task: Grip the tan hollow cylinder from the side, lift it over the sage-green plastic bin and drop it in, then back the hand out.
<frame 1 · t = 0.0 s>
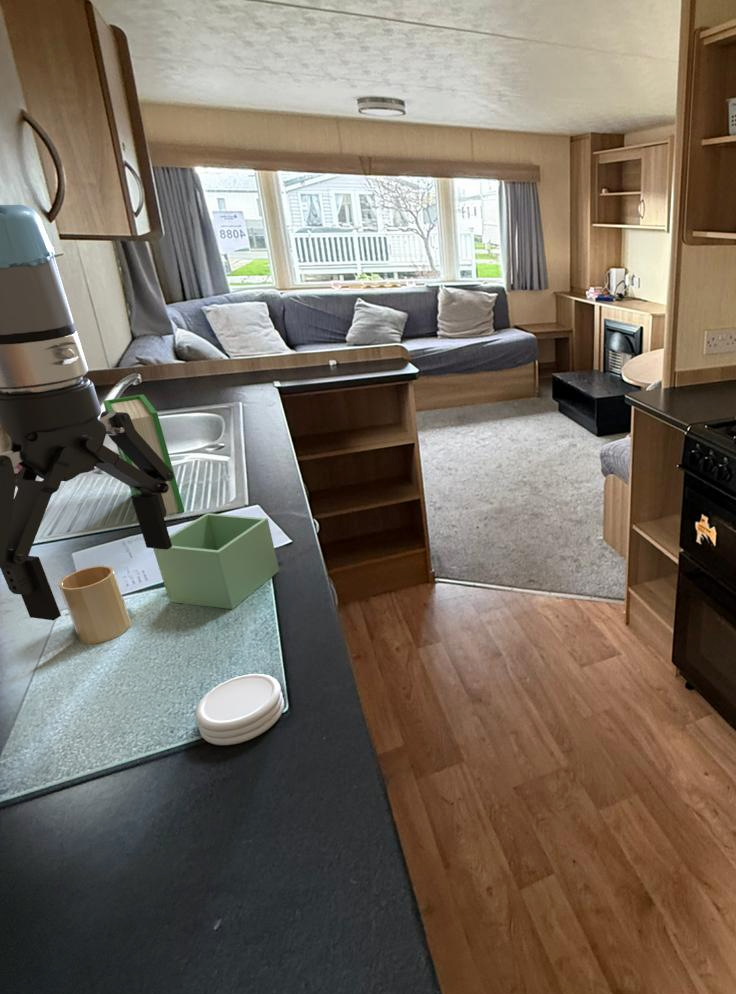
hand: (107, 579, 68), 27 cm above the counter, tool pointing down, fingers open, 13 cm apart
bin: (226, 585, 116), on the counter
hardback book: (159, 509, 145), on the counter
tan hollow cylinder: (105, 630, 104), on the counter
coaster: (244, 719, 86), on the counter
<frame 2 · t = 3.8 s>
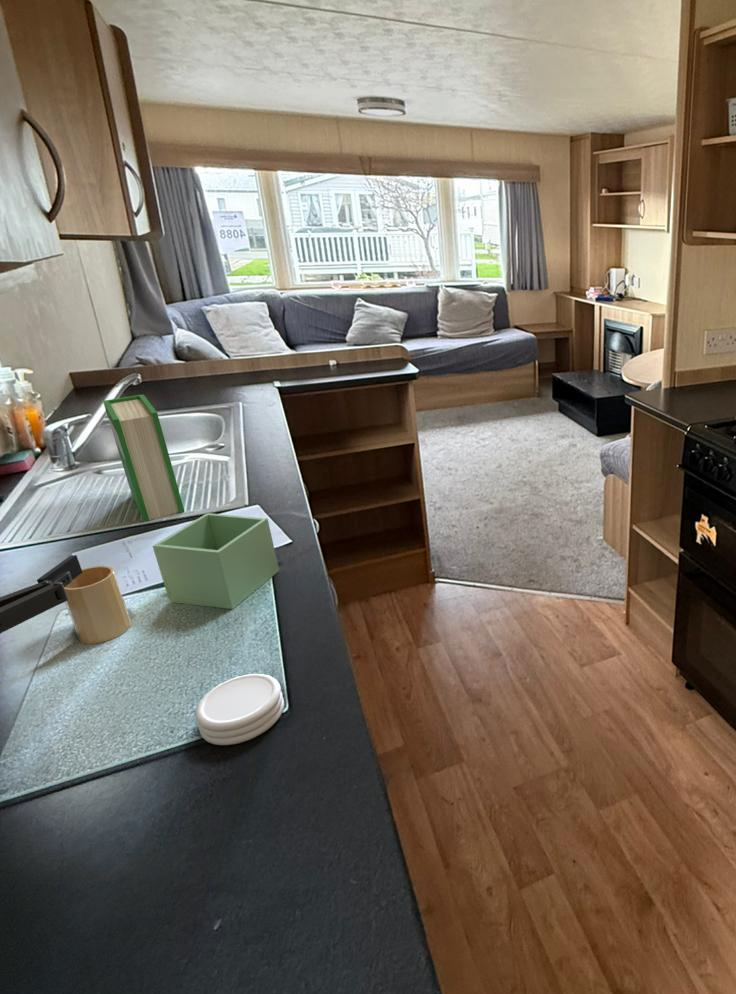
hand: (24, 567, 88), 18 cm above the counter, tool horizontal, fingers open, 13 cm apart
nothing on the counter moved.
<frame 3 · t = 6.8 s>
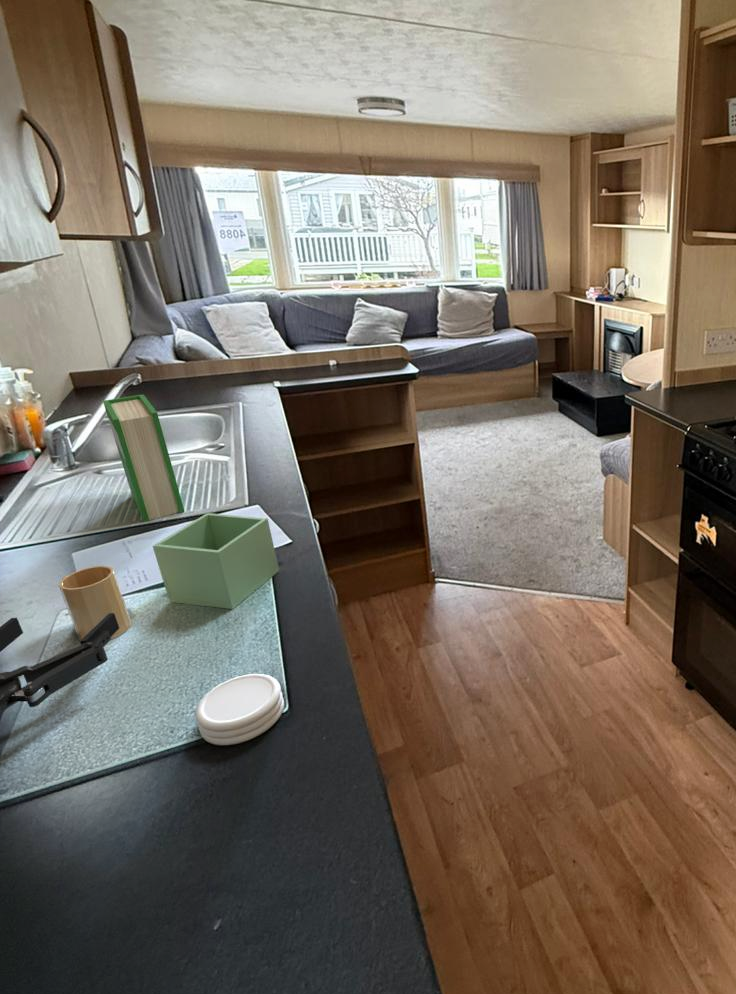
hand: (66, 622, 96), 6 cm above the counter, tool horizontal, fingers open, 13 cm apart
nothing on the counter moved.
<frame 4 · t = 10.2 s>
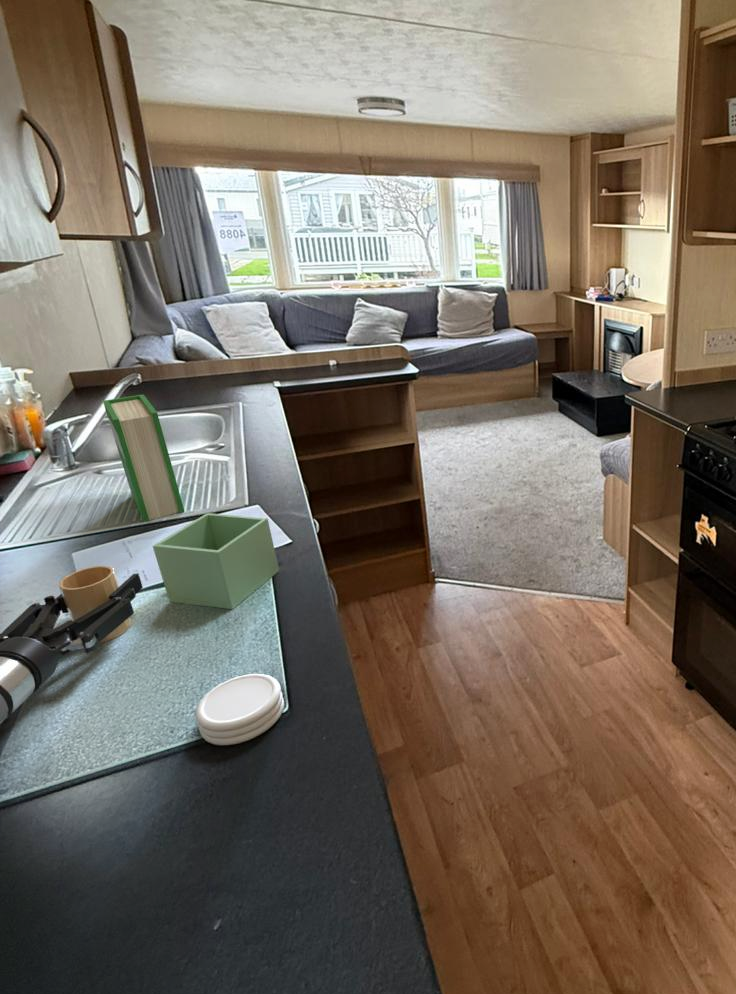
hand: (113, 581, 106), 6 cm above the counter, tool horizontal, fingers closed on tan hollow cylinder, 7 cm apart
tan hollow cylinder: (105, 630, 104), on the counter, touching gripper
everything else where it was.
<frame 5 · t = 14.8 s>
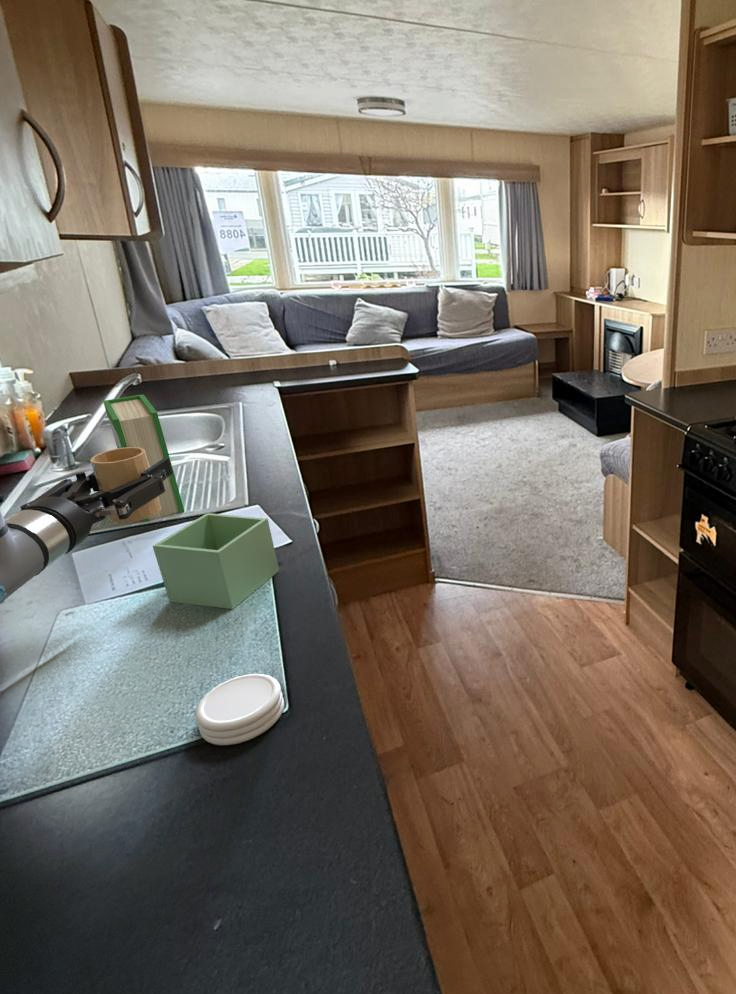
hand: (143, 466, 105), 24 cm above the counter, tool horizontal, fingers closed on tan hollow cylinder, 7 cm apart
tan hollow cylinder: (135, 513, 103), point 18 cm above the counter, touching gripper
everything else where it was.
when the fingers open (14 cm above the counter, at t = 19.6 s): tan hollow cylinder drops 7 cm, resting on bin.
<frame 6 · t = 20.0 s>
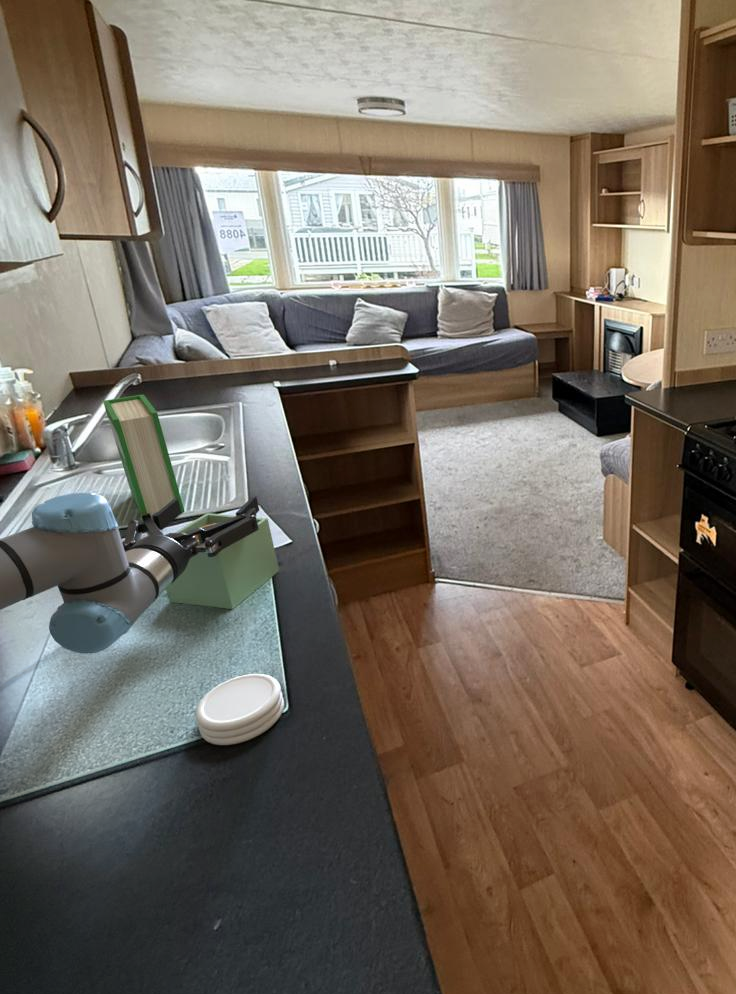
hand: (216, 504, 114), 14 cm above the counter, tool horizontal, fingers open, 12 cm apart
tan hollow cylinder: (225, 581, 116), point 1 cm above the counter, touching bin
everything else where it was.
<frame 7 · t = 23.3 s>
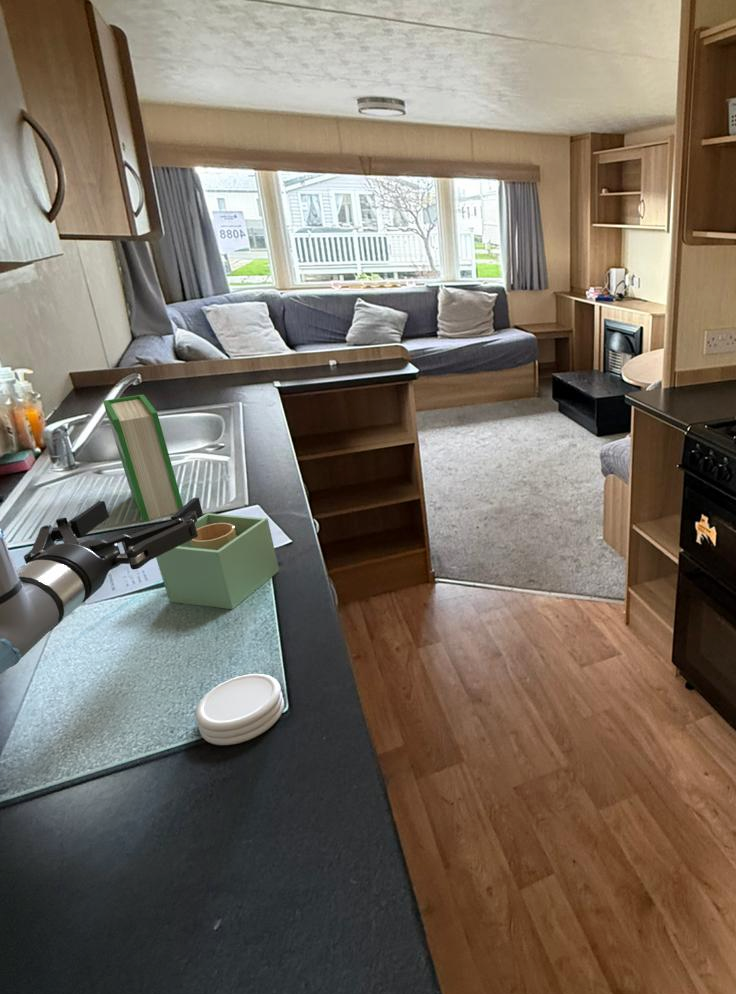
hand: (151, 507, 98), 21 cm above the counter, tool horizontal, fingers open, 13 cm apart
nothing on the counter moved.
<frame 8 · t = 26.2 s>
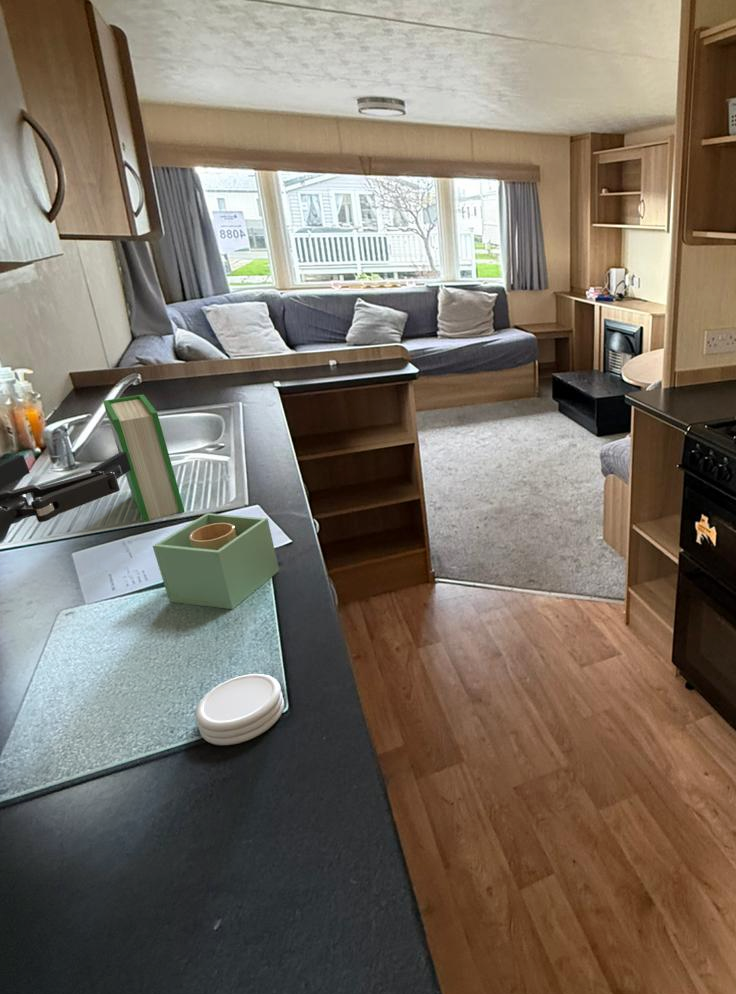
hand: (75, 462, 91), 30 cm above the counter, tool horizontal, fingers open, 13 cm apart
nothing on the counter moved.
at the end: tan hollow cylinder inside the target area in the bin (0.1 cm from its centre), point 1.0 cm above the bin's base; the gripper is holding nothing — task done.
